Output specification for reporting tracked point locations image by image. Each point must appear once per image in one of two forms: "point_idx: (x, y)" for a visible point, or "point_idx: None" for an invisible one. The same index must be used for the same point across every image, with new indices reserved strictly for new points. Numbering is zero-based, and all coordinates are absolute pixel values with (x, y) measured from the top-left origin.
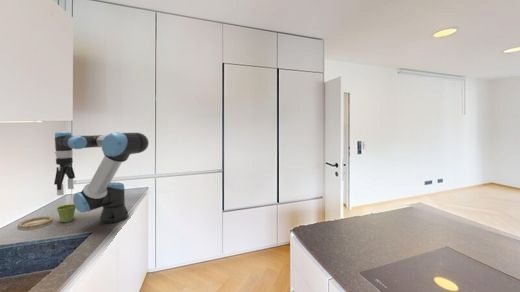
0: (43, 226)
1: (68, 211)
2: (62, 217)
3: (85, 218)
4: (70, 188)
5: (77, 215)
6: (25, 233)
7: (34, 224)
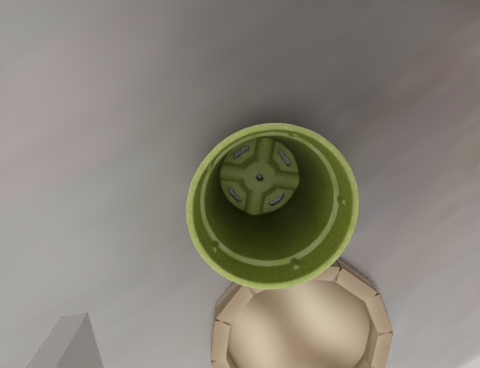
0: (348, 266)
1: (325, 156)
2: (314, 191)
3: (234, 49)
4: (96, 359)
5: (154, 156)
6: (436, 298)
7: (314, 335)
